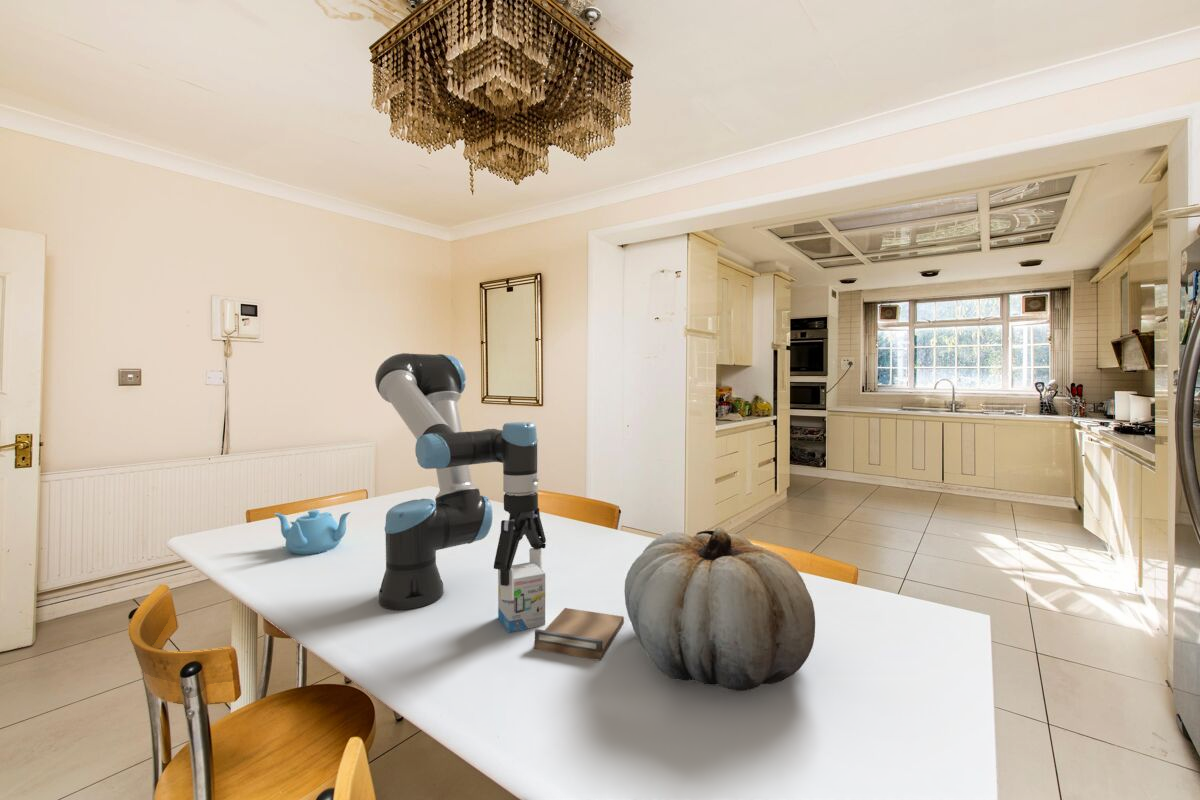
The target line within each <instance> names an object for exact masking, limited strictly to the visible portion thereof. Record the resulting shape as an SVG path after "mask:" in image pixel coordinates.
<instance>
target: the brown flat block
mask: <svg viewBox="0 0 1200 800" xmlns="http://www.w3.org/2000/svg"><path fill="white" fill-rule="evenodd" d="M624 619H625V616H623V615H615V614H608V613H603V612H602V613H601V612H595V611H588V610H583V609H582V610H581V609H574V608H567V607H565V608H563V609H562V610H561V612H560V613H559V614H558V615H557V616H556V617H555V618H554V619H553V620H552V621H551V623H550V624H549V625H547V627H545V629H540V628H539V629H537V628H536V629H535V630H534V641H533V642H534V643H533V644H534V645H533V647H534V649H535V650H540V651H546V652H550V653H556V654H557V653H558V654H562V655H567V656H572V657H573V656H574V657H578V658H585V659H589V660H596V661H602V659H603V658H604V656H605V655H606V653H607V651H608V650H609V648H610V646H611V645H612V643H613V641H614V640H615V638H616V637H617V635H618V633H619V632H620V631H621V628H622V627H623V625H624V622H625V620H624Z"/></svg>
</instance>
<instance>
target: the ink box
mask: <svg viewBox="0 0 1200 800" xmlns="http://www.w3.org/2000/svg"><path fill="white" fill-rule="evenodd" d="M511 568H513V570H514V600H513V601H510V600H502V599H501V583H500V570H499V569H497V592H498V593H497V599H498V600H497V601H498V602H497V603H498V604H497V608H498V610H497V611H498V612H497V618H498V620H500V622H501V624H502V626H503V627H504V628H505V629H506V631H507V633H514V632H518V631H522V630H528V629H531V628H536V627H540V626H545V625H546V572H545V571H544V570H543V569H542V570H541V569H540V568H539V567H538V566H537V565H536V564H534V563H533V562H530V561H528V562H523V563H518V564H512V566H511Z"/></svg>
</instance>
